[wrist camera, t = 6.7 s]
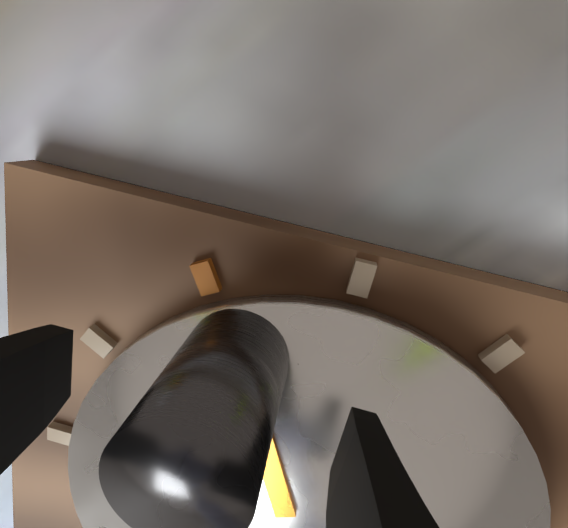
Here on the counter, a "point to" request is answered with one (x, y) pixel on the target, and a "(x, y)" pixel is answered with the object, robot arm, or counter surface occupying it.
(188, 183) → the counter surface
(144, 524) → the dial
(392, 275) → the dial base
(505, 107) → the counter surface
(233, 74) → the counter surface
